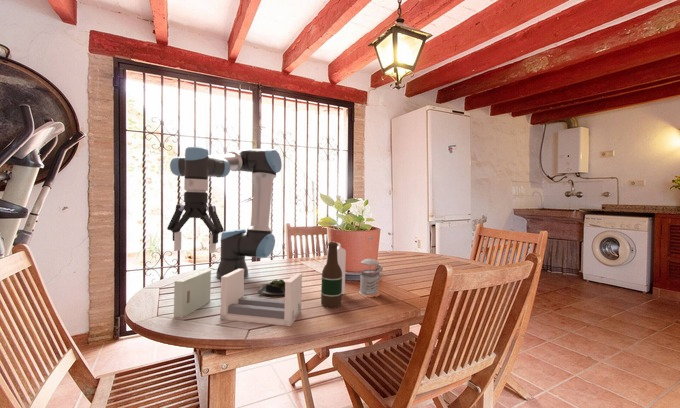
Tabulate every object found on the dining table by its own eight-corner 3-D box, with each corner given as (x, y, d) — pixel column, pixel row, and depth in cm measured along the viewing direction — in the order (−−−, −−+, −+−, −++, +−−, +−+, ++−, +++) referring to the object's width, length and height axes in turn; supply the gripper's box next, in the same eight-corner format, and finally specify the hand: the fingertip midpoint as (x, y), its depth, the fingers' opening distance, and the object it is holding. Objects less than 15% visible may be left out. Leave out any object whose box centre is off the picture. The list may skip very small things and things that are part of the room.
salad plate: (256, 285, 140) (256, 275, 140) (294, 283, 146) (295, 273, 146) (258, 299, 122) (258, 287, 122) (302, 296, 127) (302, 285, 127)
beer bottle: (345, 305, 117) (347, 243, 117) (330, 310, 112) (332, 244, 111) (331, 300, 123) (333, 240, 122) (316, 304, 117) (318, 242, 117)
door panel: (202, 301, 117) (203, 269, 117) (210, 301, 117) (211, 270, 116) (173, 317, 101) (174, 281, 101) (182, 317, 101) (183, 281, 101)
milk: (333, 296, 127) (334, 244, 126) (325, 292, 132) (326, 241, 131) (344, 294, 131) (346, 242, 130) (336, 290, 136) (337, 240, 135)
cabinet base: (220, 318, 101) (221, 276, 100) (238, 306, 113) (239, 268, 112) (290, 326, 97) (291, 282, 97) (300, 312, 109) (302, 273, 108)
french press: (353, 292, 133) (354, 235, 133) (373, 288, 140) (375, 234, 139) (367, 299, 125) (369, 238, 125) (388, 294, 132) (390, 236, 131)
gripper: (156, 190, 106) (155, 251, 107) (223, 192, 102) (221, 255, 103) (171, 190, 113) (170, 247, 114) (234, 192, 109) (233, 251, 110)
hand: (195, 251), depth 108 cm, fingers open, 13 cm apart
